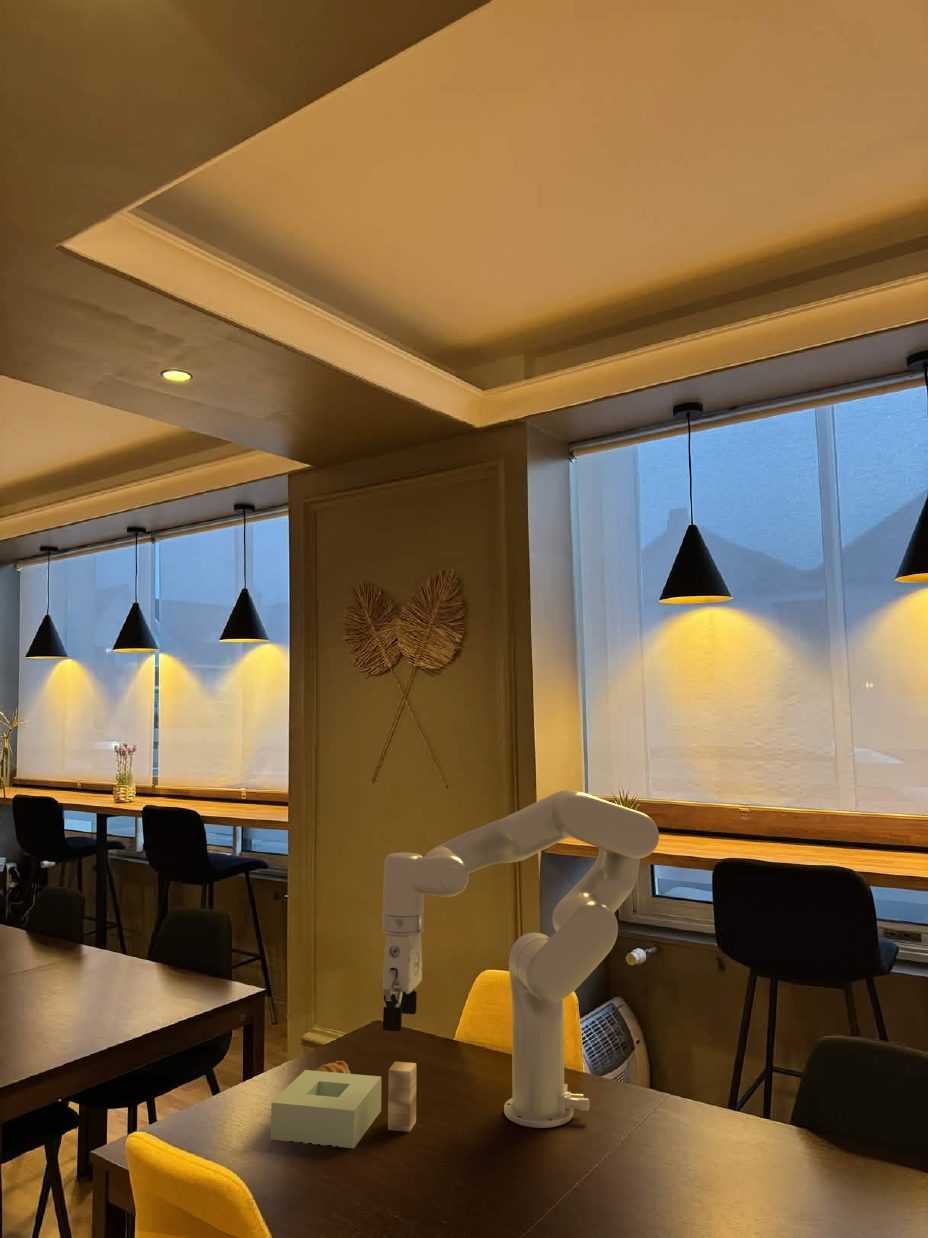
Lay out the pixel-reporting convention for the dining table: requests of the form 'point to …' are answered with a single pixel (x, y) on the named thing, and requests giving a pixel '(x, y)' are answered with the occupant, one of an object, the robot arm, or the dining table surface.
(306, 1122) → the well block
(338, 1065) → the pastry
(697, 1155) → the dining table surface
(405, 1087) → the birch block
